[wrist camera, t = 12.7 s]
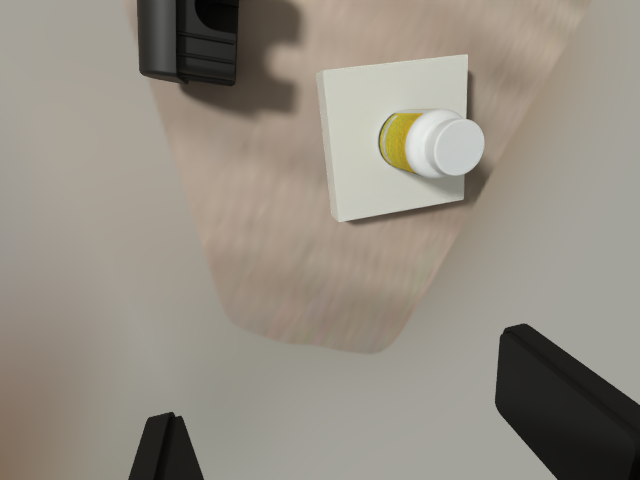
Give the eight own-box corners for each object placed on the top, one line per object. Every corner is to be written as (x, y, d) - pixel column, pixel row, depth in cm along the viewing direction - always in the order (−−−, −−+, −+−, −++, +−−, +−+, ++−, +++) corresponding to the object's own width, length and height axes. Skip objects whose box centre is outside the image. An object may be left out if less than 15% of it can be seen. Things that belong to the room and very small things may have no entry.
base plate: (315, 74, 33) (322, 70, 30) (450, 59, 35) (467, 54, 32) (331, 214, 38) (338, 222, 35) (448, 193, 40) (463, 199, 37)
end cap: (148, -58, 28) (121, -109, 21) (240, -37, 29) (240, -79, 23) (151, 80, 31) (129, 70, 24) (235, 91, 32) (233, 85, 26)
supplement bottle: (381, 174, 35) (430, 195, 26) (369, 119, 33) (419, 119, 23) (431, 158, 35) (496, 172, 26) (422, 102, 33) (490, 97, 24)
